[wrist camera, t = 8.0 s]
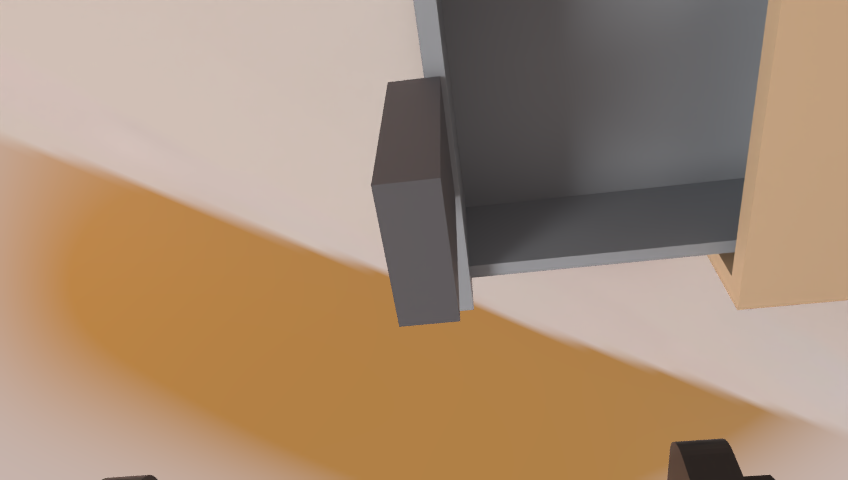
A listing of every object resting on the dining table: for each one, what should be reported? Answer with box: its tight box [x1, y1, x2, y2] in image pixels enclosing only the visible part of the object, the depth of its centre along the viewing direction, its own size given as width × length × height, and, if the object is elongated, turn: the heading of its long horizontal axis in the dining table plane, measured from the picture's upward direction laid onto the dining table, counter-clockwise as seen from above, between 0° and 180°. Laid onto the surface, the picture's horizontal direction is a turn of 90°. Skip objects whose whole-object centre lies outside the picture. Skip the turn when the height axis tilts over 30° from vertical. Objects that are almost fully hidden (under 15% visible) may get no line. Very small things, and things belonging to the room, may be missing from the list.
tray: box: [371, 0, 768, 327], centre depth 20 cm, size 14×13×11 cm
